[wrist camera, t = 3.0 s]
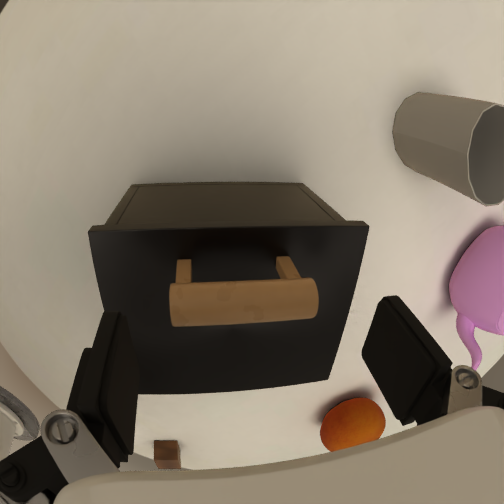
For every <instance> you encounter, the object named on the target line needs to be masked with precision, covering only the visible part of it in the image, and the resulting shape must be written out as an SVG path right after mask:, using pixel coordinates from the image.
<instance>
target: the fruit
mask: <svg viewBox="0 0 504 504" xmlns="http://www.w3.org/2000/svg"><path fill="white" fill-rule="evenodd" d="M385 421H386V420H385V417H384V414H383V411H382V410H381V408H380V407H379V406H378V405H377V404H376V403H375V402H374V401H372V400H371V399H368V398H354V399H350V400H347V401H344V402H342V403H340V404H338V405H337V406H335V407H334V408H332V409H331V410H330V411H329V412H328V413H327V414H326V416H325V417H324V419H323V421H322V425H321V429H320V436H321V440H322V443H323V444H324V446H325V447H326V448H327V449H328V450H329V451H331V452H333V451H337V450H341V449H345V448H349V447H353V446H357V445H360V444H364V443H367V442H371V441H374V440H378V439H379V438H380V436H381V435H382V433H383V431H384V429H385Z"/></svg>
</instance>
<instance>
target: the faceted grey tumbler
mask: <svg viewBox="0 0 504 504" xmlns="http://www.w3.org/2000/svg"><path fill="white" fill-rule="evenodd" d="M392 132H393V138H394V144H395V150H396V152H397V153H398V155H399V156H400V158H401V160H402V161H403V163H404V165H406V166H408V167H409V168H411V169H413V170H414V171H416V172H418V173H420V174H423V175H425V176H427V177H429V178H431V179H433V180H436V181H438V182H440V183H442V184H444V185H446V186H448V187H450V188H452V189H454V190H456V191H458V192H460V193H462V194H464V195H466V196H468V197H470V198H471V199H473V200H475V201H477V202H479V203H481V204H483V205H484V206H493V205H499V204H500V203H501V202H502V201H503V200H504V105H500V104H496V103H492V102H487V101H481V100H475V99H469V98H463V97H456V96H448V95H440V94H431V93H421V92H418V93H416V94H414V95H412V96H410V97H408V98H406V99H405V100H404V102H403V103H402V105H401V106H400V108H399V109H398V111H397V112H396V115H395V121H394V126H393V131H392Z"/></svg>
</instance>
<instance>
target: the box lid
mask: <svg viewBox="0 0 504 504" xmlns="http://www.w3.org/2000/svg"><path fill="white" fill-rule="evenodd" d="M368 231H369V225H367V224H366V223H365V222H364V221H320V220H288V221H210V222H172V223H143V224H119V225H97V226H92V227H91V228H90V230H89V231H88V235H89V241H90V247H91V253H92V258H93V263H94V268H95V273H96V278H97V282H98V287H99V291H100V295H101V300H102V304H103V308H104V311H120V312H121V315H126V317H127V321H128V325H129V329H130V334H131V338H132V342H133V346H134V350H135V354H136V357H137V361H138V365H139V369H140V380H139V389H138V394H199V393H218V392H232V391H244V390H255V389H265V388H274V387H282V386H290V385H297V384H304V383H310V382H317V381H323V380H328V378H329V375H330V372H331V369H332V366H333V363H334V360H335V357H336V354H337V351H338V347H339V344H340V341H341V338H342V334H343V331H344V327H345V324H346V320H347V317H348V313H349V310H350V306H351V302H352V299H353V295H354V291H355V287H356V283H357V279H358V275H359V271H360V267H361V263H362V258H363V254H364V250H365V245H366V240H367V236H368Z"/></svg>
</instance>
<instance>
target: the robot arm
mask: <svg viewBox="0 0 504 504" xmlns="http://www.w3.org/2000/svg"><path fill="white" fill-rule="evenodd" d="M362 358H363V360H364V361H365V363H366V365H367V367H368V369H369V370H370V372H371V374H372V376H373V377H374V379H375V381H376V383H377V385H378V387H379V388H380V390H381V392H382V394H383V396H384V397H385V399H386V401H387V403H388V405H389V407H390V408H391V410H392V412H393V414H394V416H395V418H396V419H397V420H400V422H401V424H402V425H403V426H404V425H407V424H410V423H412V422H414V421H416V422H417V426H416V427H413V428H411V429H408V430H405V431H402V432H399V433H396V434H393V435H390V436H387V437H384V438H381V439H378V440H374V441H371V442H367V443H364V444H360V445H357V446H353V447H349V448H345V449H341V450H337V451H333V452H329V453H324V454H320V455H315V456H310V457H305V458H300V459H294V460H288V461H282V462H276V463H269V464H262V465H254V466H245V467H235V468H222V469H206V470H184V471H125V472H120V471H119V470H118V468H119V467H120V462H128V455H132V454H133V449H134V434H135V421H136V409H137V399H138V389H139V380H140V369H139V365H138V361H137V357H136V354H135V350H134V346H133V342H132V338H131V334H130V329H129V325H128V321H127V317H126V315H121V312H120V311H104V313H103V315H102V318H101V321H100V324H99V327H98V330H97V333H96V337H95V340H94V343H93V346H92V348H85V349H84V351H83V353H82V356H81V359H80V362H79V366H78V369H77V372H76V376H75V379H74V383H73V386H72V390H71V393H70V397H69V401H68V405H67V409H66V410H65V409H63V410H56V411H54V412H51V413H50V414H49V415H47V416H46V417H45V419H44V420H43V422H42V425H41V436H40V437H38V438H37V439H35V440H33V441H32V442H30V443H29V444H27V445H25V446H24V447H22V448H21V449H19V450H17V451H16V452H14V453H13V454H11V455H9V453H10V448H11V445H12V441H13V438H14V436H21V435H22V434H23V432H24V425H23V423H22V421H21V420H20V418H19V417H18V416H17V415H16V414H15V413H14V412H13V411H12V410H11V409H9V408H8V407H7V406H6V405H4V404H3V403H2V402H0V504H504V393H501V392H499V391H496V390H493V389H491V388H487V387H485V386H482V380H481V377H480V375H479V374H478V373H477V371H476V370H474V369H473V368H471V367H469V366H465V365H459V366H456V367H455V368H454V369H453V370H452V369H451V365H452V361H451V360H450V359H449V358H448V356H447V355H446V354H445V352H444V351H443V350H442V349H441V347H440V346H439V345H438V343H437V342H436V341H435V340H434V338H433V337H432V336H431V335H430V333H429V332H428V331H427V330H426V329H425V327H424V326H423V325H422V324H421V322H420V321H419V320H418V319H417V318H416V316H415V315H414V314H413V313H412V312H411V310H410V309H409V308H408V307H407V306H406V305H405V303H404V302H403V301H402V300H401V299H400V297H398V296H396V295H395V296H386V297H383V298H382V300H381V301H380V302H379V303H378V305H377V308H376V311H375V314H374V317H373V320H372V323H371V326H370V329H369V332H368V335H367V337H366V340H365V343H364V346H363V348H362Z"/></svg>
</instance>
